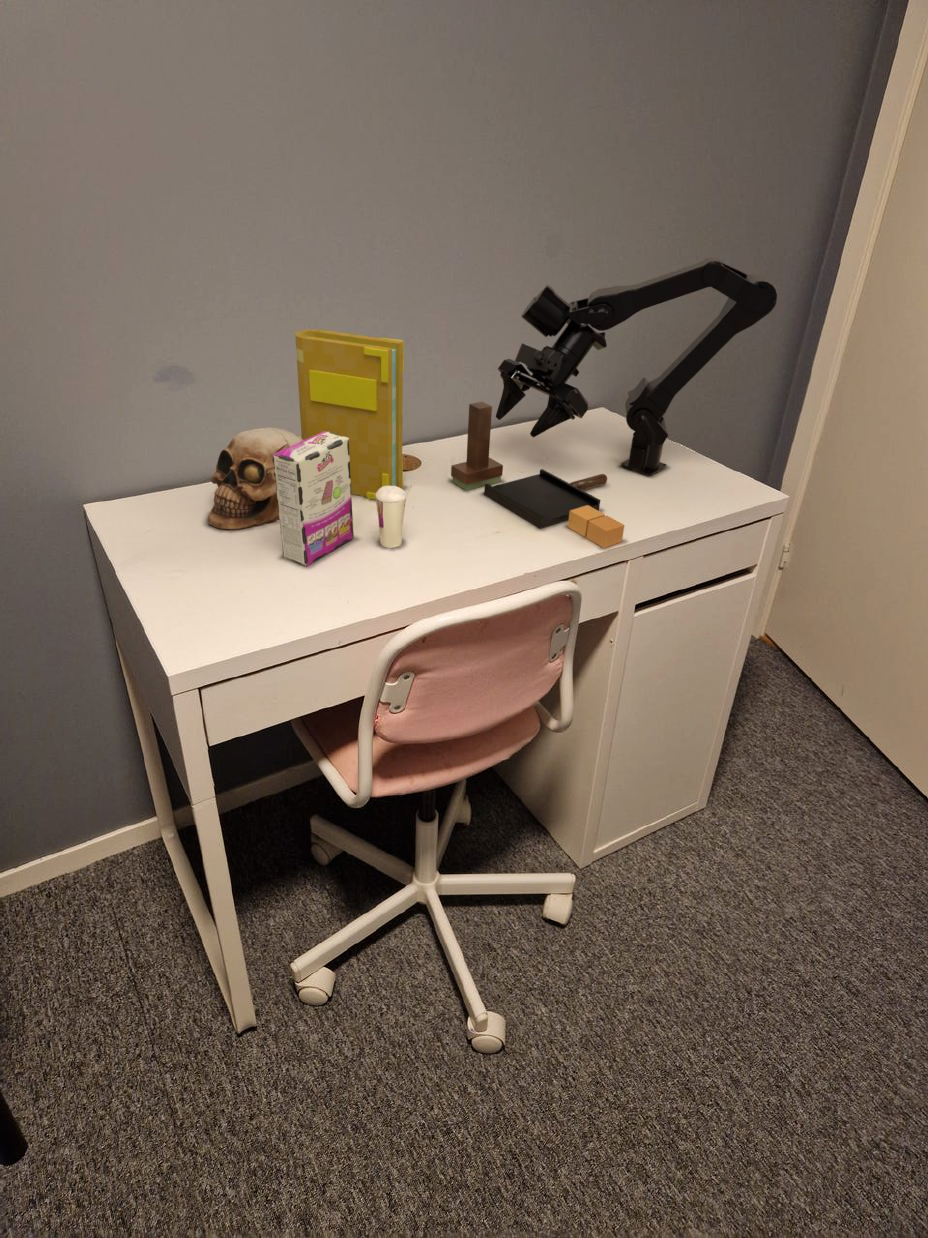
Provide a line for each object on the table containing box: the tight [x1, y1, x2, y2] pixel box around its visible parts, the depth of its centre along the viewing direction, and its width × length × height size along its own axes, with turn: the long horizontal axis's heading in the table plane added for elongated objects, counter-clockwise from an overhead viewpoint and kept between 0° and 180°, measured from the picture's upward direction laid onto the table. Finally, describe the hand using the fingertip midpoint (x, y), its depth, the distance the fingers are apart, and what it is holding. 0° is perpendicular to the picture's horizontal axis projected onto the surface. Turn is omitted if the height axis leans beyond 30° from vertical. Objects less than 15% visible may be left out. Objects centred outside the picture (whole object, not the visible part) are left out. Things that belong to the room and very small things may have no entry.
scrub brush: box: [450, 401, 504, 491], centre depth 147 cm, size 8×4×14 cm, turn 126°
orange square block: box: [585, 514, 625, 549], centre depth 134 cm, size 4×4×3 cm
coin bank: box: [207, 427, 303, 530], centre depth 136 cm, size 16×17×13 cm
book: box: [295, 328, 405, 501], centre depth 140 cm, size 17×7×25 cm, turn 71°
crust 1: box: [567, 505, 606, 538], centre depth 136 cm, size 4×4×3 cm
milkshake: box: [375, 485, 412, 549], centre depth 127 cm, size 4×5×10 cm
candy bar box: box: [273, 431, 355, 567], centre depth 123 cm, size 11×5×16 cm, turn 148°
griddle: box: [483, 468, 608, 529], centre depth 147 cm, size 22×15×2 cm
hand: (514, 426), depth 150 cm, fingers open, 9 cm apart
